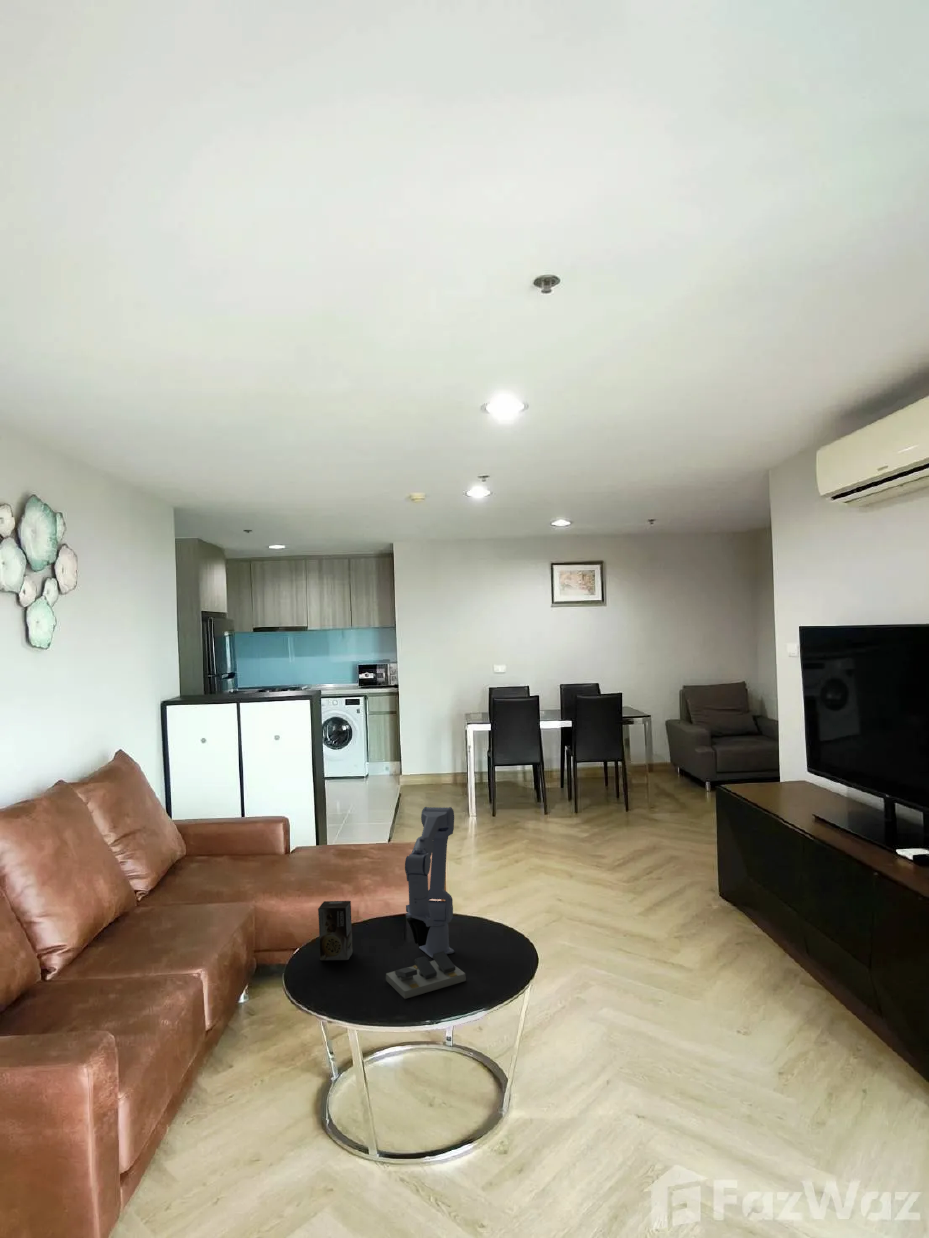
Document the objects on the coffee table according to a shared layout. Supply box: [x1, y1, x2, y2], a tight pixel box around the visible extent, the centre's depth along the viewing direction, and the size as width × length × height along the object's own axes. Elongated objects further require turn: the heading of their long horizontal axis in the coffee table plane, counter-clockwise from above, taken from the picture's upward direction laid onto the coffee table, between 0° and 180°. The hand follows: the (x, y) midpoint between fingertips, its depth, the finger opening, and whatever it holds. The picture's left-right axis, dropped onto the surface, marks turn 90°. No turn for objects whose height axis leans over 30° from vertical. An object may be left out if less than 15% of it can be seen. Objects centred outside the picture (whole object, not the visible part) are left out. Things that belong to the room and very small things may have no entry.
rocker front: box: [394, 967, 417, 978], centre depth 200 cm, size 8×4×1 cm, turn 29°
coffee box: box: [317, 900, 354, 961], centre depth 222 cm, size 9×6×16 cm
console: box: [385, 959, 467, 1000], centre depth 202 cm, size 13×19×3 cm
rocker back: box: [432, 951, 456, 974], centre depth 205 cm, size 8×4×1 cm, turn 29°
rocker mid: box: [413, 955, 437, 979], centre depth 202 cm, size 8×4×1 cm, turn 29°
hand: (420, 943), depth 205 cm, fingers closed
